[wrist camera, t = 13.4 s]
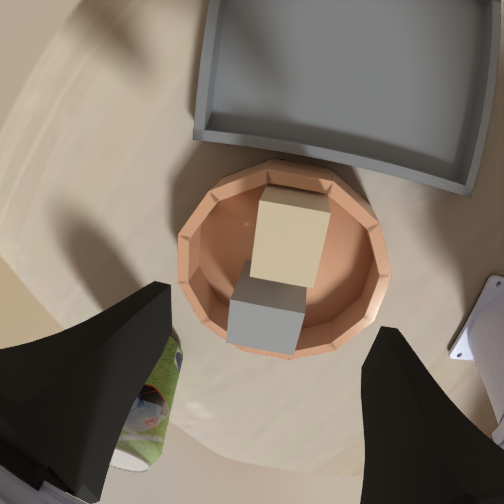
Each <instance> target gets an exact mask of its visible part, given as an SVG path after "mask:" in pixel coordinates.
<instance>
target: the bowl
mask: <svg viewBox="0 0 504 504" xmlns="http://www.w3.org/2000/svg"><path fill="white" fill-rule="evenodd" d="M268 183H273V184H278V185H284V186H289V187H295V188H300V189H305V190H310V191H316V192H321V193H326V194H328V197H329V204H330V211H331V215H330V219H329V224H328V228H327V233H326V237H325V241H324V246H323V250H322V254H321V258H320V263H319V267H318V271H317V275H316V279H315V283H314V287H313V288H308V287H307V292H306V308H305V316H304V320H303V323H302V327H301V331H300V334H299V338H298V341H297V345H296V348H295V352H294V355H293V356H292V355H287V354H281V353H276V352H270V351H265V350H260V349H255V348H250V347H245V346H240V345H236V344H232V345H234V346H235V347H237V348H238V349H240V350H243V351H247V352H252V353H257V354H262V355H267V356H272V357H277V358H282V359H288V360H290V359H295V358H300V357H305V356H310V355H315V354H320V353H325V352H329V351H334V350H337V349H338V348H339V347H341V346H342V345H343V344H345V343H346V342H347V341H349V340H350V339H351V338H353V337H354V336H355V335H357V334H358V333H359V332H360V331H362V330H363V329H364V328H366V327H367V326H368V325H369V324H371V323H372V322H373V321H374V319H375V317H376V314H377V312H378V310H379V307H380V305H381V302H382V300H383V297H384V295H385V292H386V290H387V287H388V284H389V282H390V279H391V276H392V274H391V269H390V265H389V260H388V256H387V251H386V247H385V243H384V239H383V235H382V231H381V227H380V223H379V221H378V219H377V217H376V215H375V213H374V211H373V209H372V207H371V205H370V204H369V203H367V202H366V201H365V200H364V199H363V198H362V197H361V196H360V195H359V194H358V193H357V192H356V191H354V190H353V189H352V188H351V187H350V186H349V185H348V184H347V183H346V182H344V181H343V180H342V179H341V178H340V177H339V176H338V175H337V174H335V173H334V172H333V171H332V170H331V169H327V168H322V167H317V166H311V165H306V164H301V163H295V162H290V161H284V160H278V159H271V160H268V161H266V162H263V163H260V164H257V165H255V166H252V167H249V168H247V169H244V170H242V171H239V172H236V173H234V174H231V175H229V176H226V177H224V178H222V179H221V180H220V181H219V182H218V183H217V184H216V185H215V186H214V187H213V188H211V189H210V190H209V191H208V193H207V194H206V196H205V197H204V198H203V200H202V201H201V203H200V204H199V205H198V207H197V208H196V210H195V211H194V212H193V214H192V215H191V217H190V218H189V219H188V221H187V222H186V224H185V225H184V227H183V228H182V229H181V231H180V232H179V234H178V284H179V286H180V288H181V290H182V291H183V293H184V295H185V296H186V298H187V300H188V302H189V303H190V305H191V307H192V309H193V310H194V312H195V314H196V315H197V317H198V319H199V320H200V322H201V323H202V324H203V325H204V326H206V327H207V328H209V329H210V330H212V331H213V332H215V333H216V334H218V335H219V336H220V337H222V338H223V339H225V340H226V338H227V327H228V316H229V305H230V298H231V296H232V293H233V291H234V288H235V286H236V283H237V281H238V278H239V276H240V273H241V271H242V268H243V266H244V263H245V261H246V260H249V261H252V254H253V246H254V239H255V231H256V223H257V215H258V208H259V200H260V198H261V196H262V194H263V192H264V190H265V188H266V186H267V184H268Z"/></svg>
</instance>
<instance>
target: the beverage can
mask: <svg viewBox="0 0 504 504" xmlns="http://www.w3.org/2000/svg"><path fill="white" fill-rule="evenodd" d="M182 360H183V353H182V350H181V348H180V346H179V345H178V343H177V342H176V341H175V340H174V339H173V338H172V337H171V336H169V339H168V341H167V344H166V346H165V348H164V351H163V353H162V355H161V357H160V358H159V360H158V362H157V364H156V365H155V367H154V369H153V371H152V372H151V374H150V376H149V377H148V379H147V381H146V383H145V384H144V386H143V388H142V389H141V391H140V393H139V395H138V396H137V398H136V400H135V402H134V404H133V406H132V408H131V410H130V412H129V414H128V417H127V419H126V422H125V424H124V426H123V429H122V431H121V434H120V437H119V439H118V442H117V445H116V447H115V450H114V453H113V456H112V459H111V462H110V465H109V466H112V467H114V468H117V469H120V470H124V471H129V472H135V473H144V472H148V471H149V469H150V466H151V465H152V464H153V463H154V462H156V461H157V460H158V459H159V457H160V456H161V453H162V449H163V444H164V439H165V434H166V430H167V425H168V421H169V416H170V412H171V407H172V403H173V398H174V394H175V390H176V385H177V381H178V377H179V373H180V368H181V364H182Z"/></svg>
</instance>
